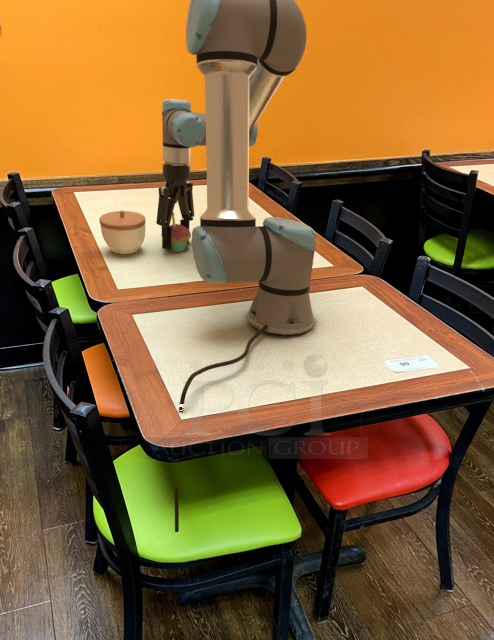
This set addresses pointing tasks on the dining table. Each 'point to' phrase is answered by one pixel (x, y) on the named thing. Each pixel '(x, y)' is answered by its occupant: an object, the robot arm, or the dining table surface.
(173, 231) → the cupcake
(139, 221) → the lidded bowl
